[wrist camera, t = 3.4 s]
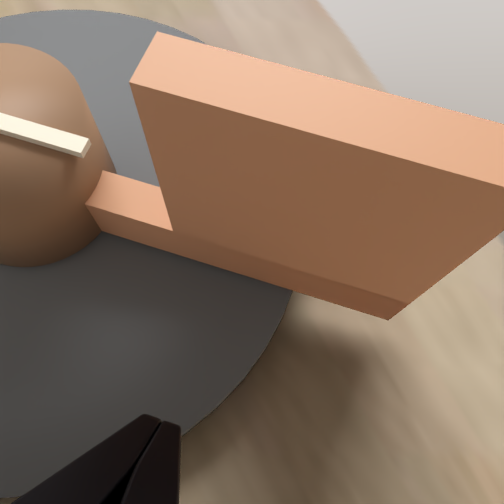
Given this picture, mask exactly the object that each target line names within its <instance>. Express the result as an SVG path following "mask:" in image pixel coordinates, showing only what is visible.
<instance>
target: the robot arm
mask: <svg viewBox="0 0 504 504" xmlns="http://www.w3.org/2000/svg"><path fill="white" fill-rule="evenodd" d="M180 458H181V426H180V425H177V424H174V423H171V422H169V421H163V422H162V421H161V419H160V418H157V417H154V416H151V415H148V414H142V415H140V416H139V417H137V418H136V419H134V420H133V421H131V422H130V423H128V424H127V425H125V426H124V427H122V428H121V429H120V430H118V431H117V432H115V433H114V434H112V435H111V436H109V437H108V438H106V439H105V440H103V441H102V442H100V443H99V444H97V445H96V446H95V447H93V448H92V449H90V450H89V451H87V452H86V453H84V454H83V455H81V456H80V457H78V458H77V459H75V460H74V461H72V462H71V463H70V464H68V465H67V466H65V467H64V468H62V469H61V470H59V471H58V472H56V473H55V474H53V475H52V476H50V477H49V478H48V479H46V480H45V481H43V482H42V483H40V484H39V485H37V486H36V487H34V488H33V489H31V490H30V491H28V492H27V493H25V494H24V495H23V496H21V497H20V498H18V499H17V500H15V501H14V502H12V503H11V504H179V485H180Z"/></svg>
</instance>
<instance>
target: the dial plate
mask: <svg viewBox="0 0 504 504" xmlns="http://www.w3.org/2000/svg"><path fill="white" fill-rule="evenodd" d="M156 32H161V33H165V34H169V35H172V36H176V37H180V38H184V39H187V40H191V41H195V42H199V43H202V44H205V43H204V42H202V41H200V40H199V39H197V38H195V37H193V36H190V35H188V34H186V33H184V32H181V31H179V30H177V29H175V28H172V27H169V26H166V25H163V24H160V23H157V22H154V21H151V20H148V19H144V18H139V17H134V16H130V15H125V14H120V13H112V12H103V11H94V10H53V11H40V12H30V13H24V14H18V15H12V16H6V17H2V18H0V43H10V44H19V45H23V46H28V47H31V48H34V49H37V50H40V51H42V52H44V53H47V54H49V55H51V56H52V57H54V58H55V59H57V60H58V61H60V62H61V63H62V64H63V65H64V66H65V67H66V68H68V70H69V71H70V72H71V73H72V75H73V76H74V77H75V79H76V81H77V82H78V84H79V86H80V89H81V91H82V93H83V95H84V98H85V100H86V102H87V105H88V107H89V109H90V111H91V114H92V116H93V118H94V120H95V123H96V125H97V127H98V130H99V132H100V134H101V136H102V139H103V141H104V143H105V145H106V148H107V150H108V152H109V155H110V157H111V159H112V161H113V164H114V166H115V169H116V172H117V175H121V176H124V177H127V178H131V179H134V180H137V181H141V182H144V183H147V184H151V185H154V186H157V187H160V185H159V182H158V178H157V175H156V172H155V168H154V165H153V162H152V158H151V155H150V151H149V148H148V145H147V141H146V138H145V135H144V131H143V128H142V124H141V121H140V118H139V114H138V111H137V107H136V104H135V101H134V97H133V94H132V91H131V87H130V84H129V81H130V79H131V77H132V76H133V74H134V72H135V70H136V68H137V67H138V65H139V63H140V61H141V59H142V58H143V56H144V54H145V52H146V50H147V48H148V47H149V45H150V43H151V41H152V39H153V38H154V36H155V34H156ZM206 45H207V44H206ZM291 293H292V290H289V289H286V288H283V287H280V286H277V285H273V284H270V283H267V282H264V281H261V280H257V279H254V278H251V277H248V276H245V275H241V274H238V273H235V272H232V271H229V270H225V269H222V268H219V267H216V266H213V265H209V264H206V263H203V262H200V261H197V260H193V259H190V258H187V257H184V256H180V255H177V254H174V253H171V252H168V251H164V250H161V249H158V248H155V247H152V246H148V245H145V244H142V243H139V242H136V241H132V240H129V239H126V238H123V237H120V236H116V235H113V234H110V233H107V232H104V231H101V233H100V234H99V235H98V236H97V237H96V238H95V239H94V240H93V241H92V242H90V243H89V244H88V245H87V246H85V247H84V248H83V249H81V250H80V251H78V252H76V253H75V254H73V255H71V256H69V257H67V258H65V259H62V260H60V261H57V262H54V263H51V264H46V265H42V266H35V267H14V266H7V265H3V264H0V498H12V497H18V496H23V495H24V494H25V493H27V492H28V491H30V490H31V489H33V488H34V487H36V486H37V485H39V484H40V483H42V482H43V481H45V480H46V479H48V478H49V477H50V476H52V475H53V474H55V473H56V472H58V471H59V470H61V469H62V468H64V467H65V466H67V465H68V464H70V463H71V462H72V461H74V460H75V459H77V458H78V457H80V456H81V455H83V454H84V453H86V452H87V451H89V450H90V449H92V448H93V447H95V446H96V445H97V444H99V443H100V442H102V441H103V440H105V439H106V438H108V437H109V436H111V435H112V434H114V433H115V432H117V431H118V430H120V429H121V428H122V427H124V426H125V425H127V424H128V423H130V422H131V421H133V420H134V419H136V418H137V417H139V416H140V415H142V414H148V415H151V416H154V417H157V418H160V419H161V421H162V422H163V421H169V422H171V423H174V424H177V425H180V426H181V436H183V435H184V434H186V433H187V432H188V431H190V430H191V429H192V428H193V427H194V426H196V425H197V424H198V423H199V422H201V421H202V420H203V419H204V418H205V417H207V416H208V415H209V414H210V413H211V412H213V411H214V410H215V409H216V408H217V407H218V406H219V405H220V404H221V403H222V402H223V401H224V400H225V399H226V398H227V397H228V396H229V395H230V394H231V393H232V392H233V390H234V389H235V388H236V387H237V386H238V385H239V384H240V383H241V382H242V381H243V380H244V378H245V377H246V376H247V374H248V373H249V372H250V370H251V369H252V367H253V366H254V365H255V363H256V362H257V360H258V359H259V358H260V356H261V355H262V354H263V352H264V351H265V349H266V347H267V345H268V344H269V342H270V340H271V338H272V336H273V334H274V332H275V331H276V329H277V327H278V325H279V323H280V321H281V319H282V317H283V314H284V312H285V309H286V306H287V304H288V301H289V298H290V296H291Z"/></svg>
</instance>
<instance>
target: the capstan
mask: <svg viewBox="0 0 504 504" xmlns="http://www.w3.org/2000/svg"><path fill="white" fill-rule="evenodd" d="M129 84H130V87H131V91H132V94H133V97H134V101H135V104H136V107H137V111H138V114H139V118H140V121H141V124H142V128H143V131H144V135H145V138H146V141H147V145H148V148H149V151H150V155H151V158H152V162H153V165H154V168H155V172H156V175H157V178H158V182H159V185H160V187H157V186H154V185H151V184H147V183H144V182H141V181H137V180H134V179H131V178H127V177H124V176H121V175H117V172H116V169H115V166H114V164H113V161H112V159H111V157H110V155H109V152H108V150H107V148H106V145H105V143H104V141H103V139H102V136H101V134H100V132H99V130H98V127H97V125H96V123H95V120H94V118H93V116H92V114H91V111H90V109H89V107H88V105H87V102H86V100H85V98H84V95H83V93H82V91H81V89H80V86H79V84H78V82H77V81H76V79H75V77H74V76H73V75H72V73H71V72H70V71H69V70H68V68H66V67H65V66H64V65H63V64H62V63H61V62H60V61H58V60H57V59H55V58H54V57H52V56H51V55H49V54H47V53H44V52H42V51H40V50H37V49H34V48H31V47H28V46H23V45H19V44H10V43H0V264H3V265H7V266H14V267H35V266H42V265H46V264H51V263H54V262H57V261H60V260H62V259H65V258H67V257H69V256H71V255H73V254H75V253H76V252H78V251H80V250H81V249H83V248H84V247H85V246H87V245H88V244H89V243H90V242H92V241H93V240H94V239H95V238H96V237H97V236H98V235H99V234H100V233H101V231H104V232H107V233H110V234H113V235H116V236H120V237H123V238H126V239H129V240H132V241H136V242H139V243H142V244H145V245H148V246H152V247H155V248H158V249H161V250H164V251H168V252H171V253H174V254H177V255H180V256H184V257H187V258H190V259H193V260H197V261H200V262H203V263H206V264H209V265H213V266H216V267H219V268H222V269H225V270H229V271H232V272H235V273H238V274H241V275H245V276H248V277H251V278H254V279H257V280H261V281H264V282H267V283H270V284H273V285H277V286H280V287H283V288H286V289H289V290H293V291H296V292H299V293H302V294H306V295H309V296H312V297H315V298H318V299H322V300H325V301H328V302H331V303H334V304H338V305H341V306H344V307H347V308H350V309H354V310H357V311H360V312H363V313H366V314H370V315H373V316H376V317H379V318H382V319H386V320H389V319H391V318H392V317H393V316H395V315H396V314H397V313H398V312H400V311H401V310H402V309H404V308H405V307H406V306H407V305H409V304H410V303H411V302H412V301H414V300H415V299H416V298H418V297H419V296H420V295H421V294H423V293H424V292H425V291H427V290H428V289H429V288H430V287H432V286H433V285H434V284H436V283H437V282H438V281H439V280H441V279H442V278H443V277H445V276H446V275H447V274H448V273H450V272H451V271H452V270H454V269H455V268H456V267H457V266H459V265H460V264H461V263H463V262H464V261H465V260H466V259H468V258H469V257H470V256H472V255H473V254H474V253H475V252H477V251H478V250H479V249H481V248H482V247H483V246H484V245H486V244H487V243H488V242H489V241H491V240H492V239H493V238H495V237H496V236H497V235H498V234H500V233H501V232H502V231H504V124H501V123H497V122H493V121H490V120H486V119H482V118H479V117H475V116H471V115H467V114H463V113H460V112H456V111H452V110H449V109H445V108H441V107H438V106H434V105H430V104H426V103H423V102H419V101H415V100H411V99H407V98H404V97H400V96H396V95H393V94H389V93H385V92H382V91H378V90H374V89H370V88H367V87H363V86H359V85H356V84H352V83H348V82H344V81H341V80H337V79H333V78H329V77H326V76H322V75H318V74H314V73H311V72H307V71H303V70H299V69H296V68H292V67H288V66H285V65H281V64H277V63H273V62H270V61H266V60H262V59H258V58H255V57H251V56H247V55H243V54H240V53H236V52H232V51H228V50H225V49H221V48H217V47H214V46H210V45H206V44H202V43H199V42H195V41H191V40H187V39H184V38H180V37H176V36H172V35H169V34H165V33H161V32H156V34H155V36H154V38H153V39H152V41H151V43H150V45H149V47H148V48H147V50H146V52H145V54H144V56H143V58H142V59H141V61H140V63H139V65H138V67H137V68H136V70H135V72H134V74H133V76H132V77H131V79H130V81H129Z"/></svg>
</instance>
